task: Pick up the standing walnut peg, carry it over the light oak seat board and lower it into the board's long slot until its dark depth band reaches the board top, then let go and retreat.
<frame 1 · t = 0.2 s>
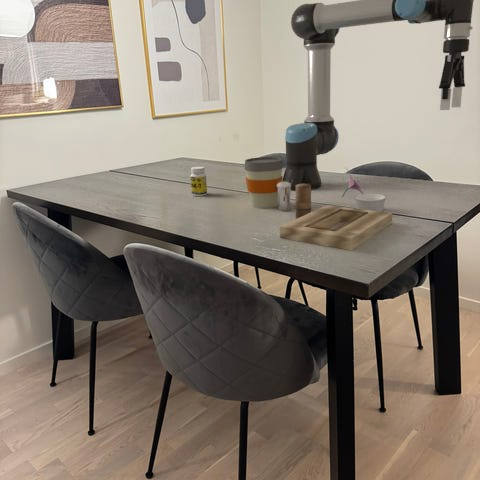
hand: (450, 108, 158), 28 cm above the table, tool pointing down, fingers open, 13 cm apart
lily: (354, 197, 166), on the table
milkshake: (285, 210, 152), on the table
peg: (303, 218, 141), on the table
seat board: (337, 230, 129), on the table
ramekin: (369, 211, 147), on the table
reusable coffee cup: (264, 205, 160), on the table
supplement bottle: (199, 195, 180), on the table
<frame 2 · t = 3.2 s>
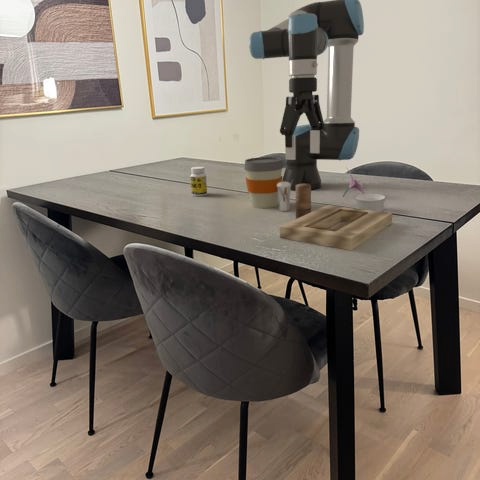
hand: (303, 156, 136), 18 cm above the table, tool pointing down, fingers open, 13 cm apart
nothing on the table moved.
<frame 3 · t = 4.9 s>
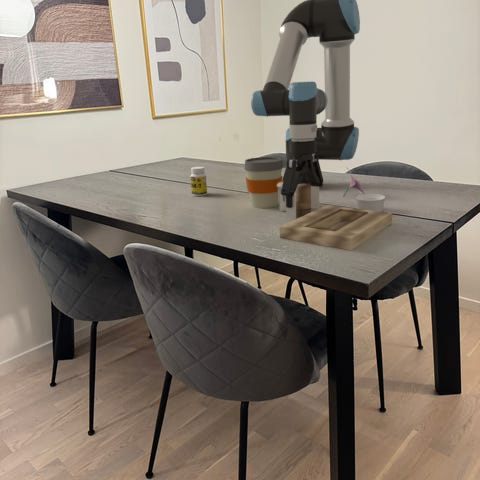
hand: (303, 212, 141), 2 cm above the table, tool pointing down, fingers open, 13 cm apart
nothing on the table moved.
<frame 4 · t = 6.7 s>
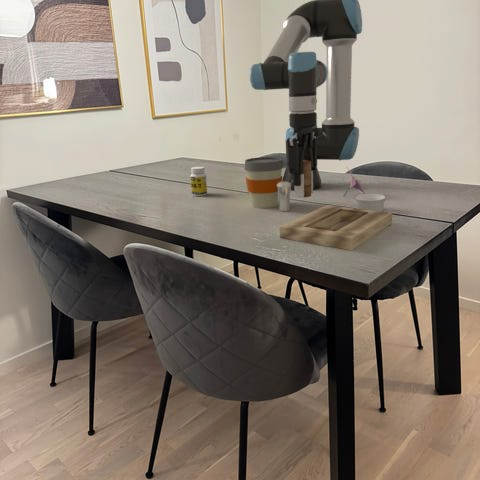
hand: (303, 194, 140), 7 cm above the table, tool pointing down, fingers closed on peg, 4 cm apart
peg: (303, 195, 140), point 7 cm above the table, touching gripper
everything else where it was.
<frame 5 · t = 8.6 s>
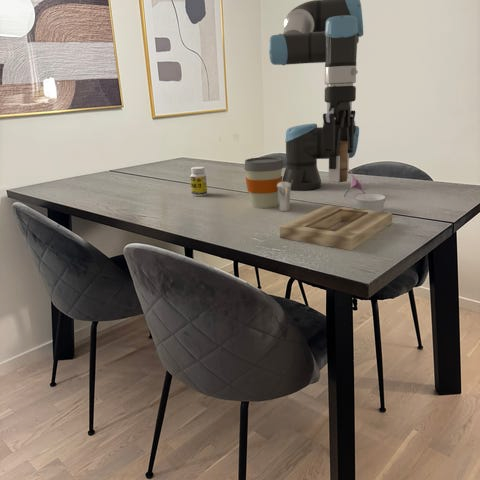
hand: (338, 179, 124), 14 cm above the table, tool pointing down, fingers closed on peg, 4 cm apart
peg: (338, 180, 124), point 14 cm above the table, touching gripper
everything else where it was.
when the fingers open (2 cm above the table, at t = 11.0 s): peg drops 1 cm, resting in seat board.
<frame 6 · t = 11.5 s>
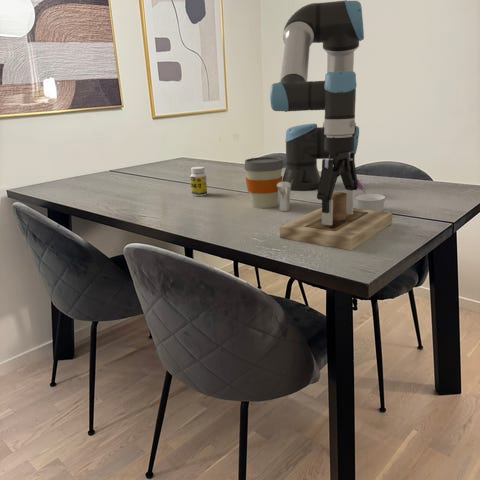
hand: (337, 218, 128), 3 cm above the table, tool pointing down, fingers open, 11 cm apart
peg: (337, 230, 129), resting in seat board
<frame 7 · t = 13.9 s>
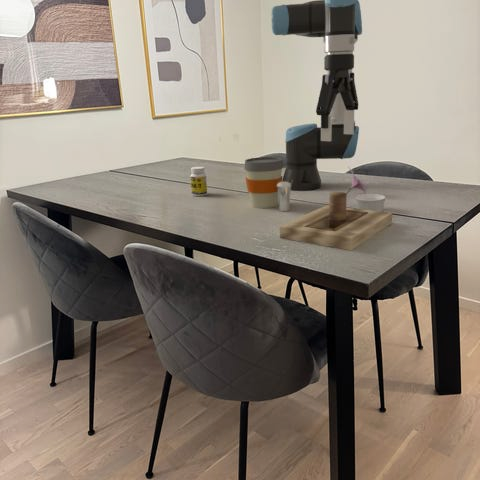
hand: (337, 137, 130), 24 cm above the table, tool pointing down, fingers open, 13 cm apart
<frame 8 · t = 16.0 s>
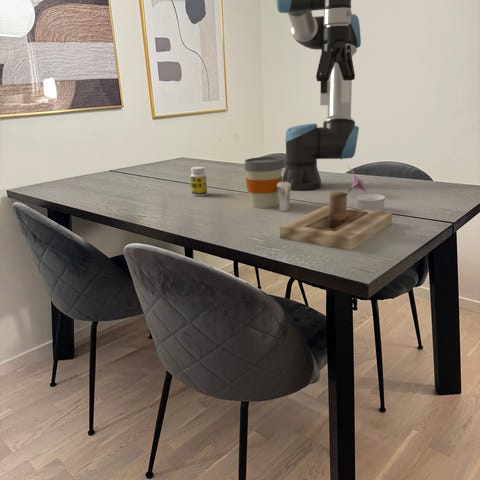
hand: (335, 104, 142), 32 cm above the table, tool pointing down, fingers open, 13 cm apart
at the end: peg inside the target area on the seat board (0.1 cm from its centre), point 0.0 cm above the seat board's base; peg tilted 0°; the gripper is holding nothing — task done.
